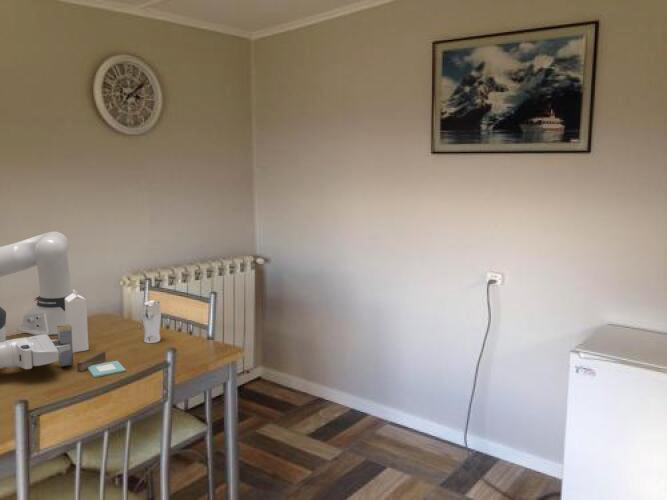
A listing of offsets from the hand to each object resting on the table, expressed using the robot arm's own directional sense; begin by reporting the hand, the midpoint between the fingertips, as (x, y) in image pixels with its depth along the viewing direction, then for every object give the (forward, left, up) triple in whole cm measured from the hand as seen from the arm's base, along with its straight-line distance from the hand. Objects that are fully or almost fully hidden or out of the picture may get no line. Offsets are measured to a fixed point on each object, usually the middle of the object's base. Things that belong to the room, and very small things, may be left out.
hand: (68, 344), depth 193 cm
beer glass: (+11, +32, -8) cm, 35 cm away
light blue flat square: (+13, +1, -8) cm, 15 cm away
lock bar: (-1, -1, -7) cm, 7 cm away
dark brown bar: (+6, +3, -8) cm, 10 cm away
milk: (-9, +15, -8) cm, 19 cm away
